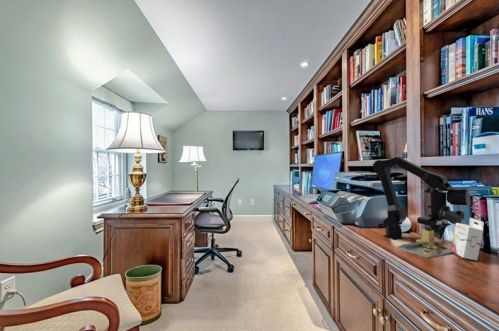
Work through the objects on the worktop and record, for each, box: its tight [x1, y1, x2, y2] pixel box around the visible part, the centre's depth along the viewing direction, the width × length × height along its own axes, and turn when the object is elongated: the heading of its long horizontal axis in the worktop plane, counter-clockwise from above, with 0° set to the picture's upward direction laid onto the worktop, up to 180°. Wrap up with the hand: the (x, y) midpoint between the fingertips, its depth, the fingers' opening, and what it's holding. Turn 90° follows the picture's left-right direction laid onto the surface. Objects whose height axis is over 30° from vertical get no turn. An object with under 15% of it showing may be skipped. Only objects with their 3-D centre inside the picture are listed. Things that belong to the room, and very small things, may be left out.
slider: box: [415, 226, 437, 249], centre depth 107 cm, size 8×3×8 cm, turn 17°
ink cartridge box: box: [450, 217, 485, 262], centre depth 96 cm, size 9×5×15 cm, turn 168°
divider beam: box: [401, 239, 445, 249], centre depth 107 cm, size 8×18×3 cm, turn 107°
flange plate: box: [397, 244, 455, 259], centre depth 105 cm, size 13×19×1 cm
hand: (439, 239), depth 109 cm, fingers closed
